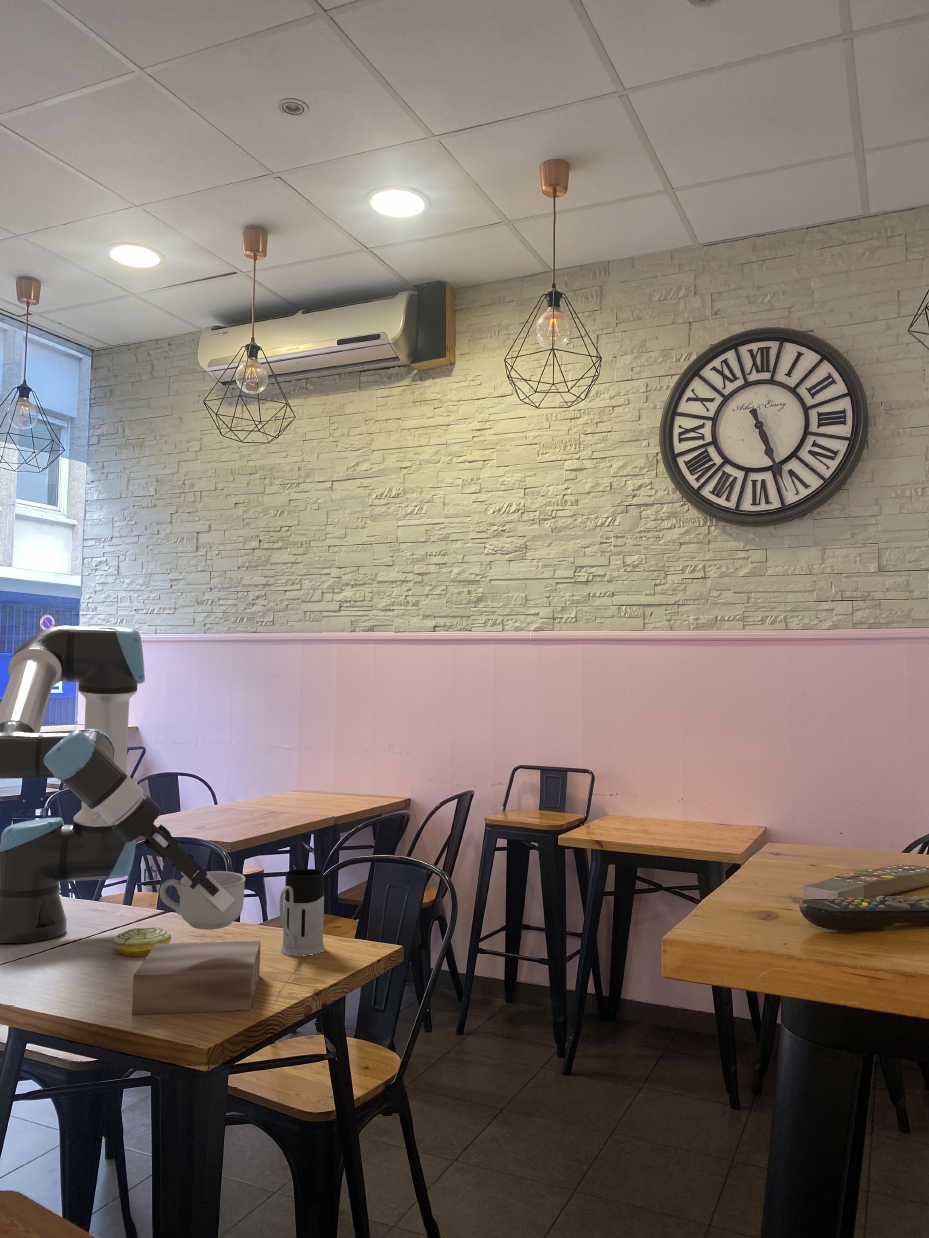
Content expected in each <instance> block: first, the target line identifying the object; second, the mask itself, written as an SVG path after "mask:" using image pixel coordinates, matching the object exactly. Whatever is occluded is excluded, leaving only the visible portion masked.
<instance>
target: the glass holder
mask: <svg viewBox="0 0 929 1238" xmlns="http://www.w3.org/2000/svg"><path fill="white" fill-rule="evenodd" d="M324 873H325V872H324V871H323V870H321V869H316V868H300V869H299V868H297V869H292V870H291V869H290V870H288V871H286V872H285V880H284V881H285V886H284V887H283V888H282V890H281V892H280V896H279V917H280V922H281V926H282V945H281V947H280V950H279V951H281V952H282V953H283V954H282V953H281V952H280V953H281V954H282V955H284V954H288V955H293V956H292V957H304V956H303V955H310V954H316V953H319V952H321V951H323V950H324V949H325V950H326V948H325V945H324V916H325V911H324V910H325V892H324V878H325V877H324V875H325V874H324ZM288 955H287V956H288ZM294 955H295V956H294Z"/></svg>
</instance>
